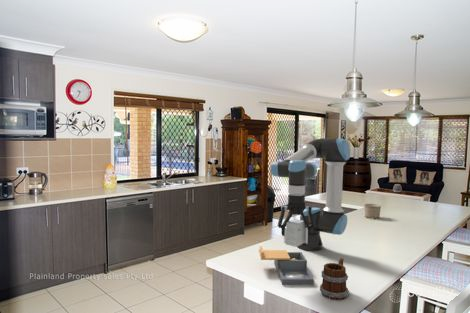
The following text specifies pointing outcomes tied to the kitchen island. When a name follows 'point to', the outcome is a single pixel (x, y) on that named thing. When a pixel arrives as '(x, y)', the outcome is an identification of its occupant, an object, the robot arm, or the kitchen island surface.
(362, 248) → the kitchen island surface
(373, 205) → the planter
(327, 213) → the robot arm
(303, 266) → the housing
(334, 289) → the mug
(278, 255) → the lid
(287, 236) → the small box
